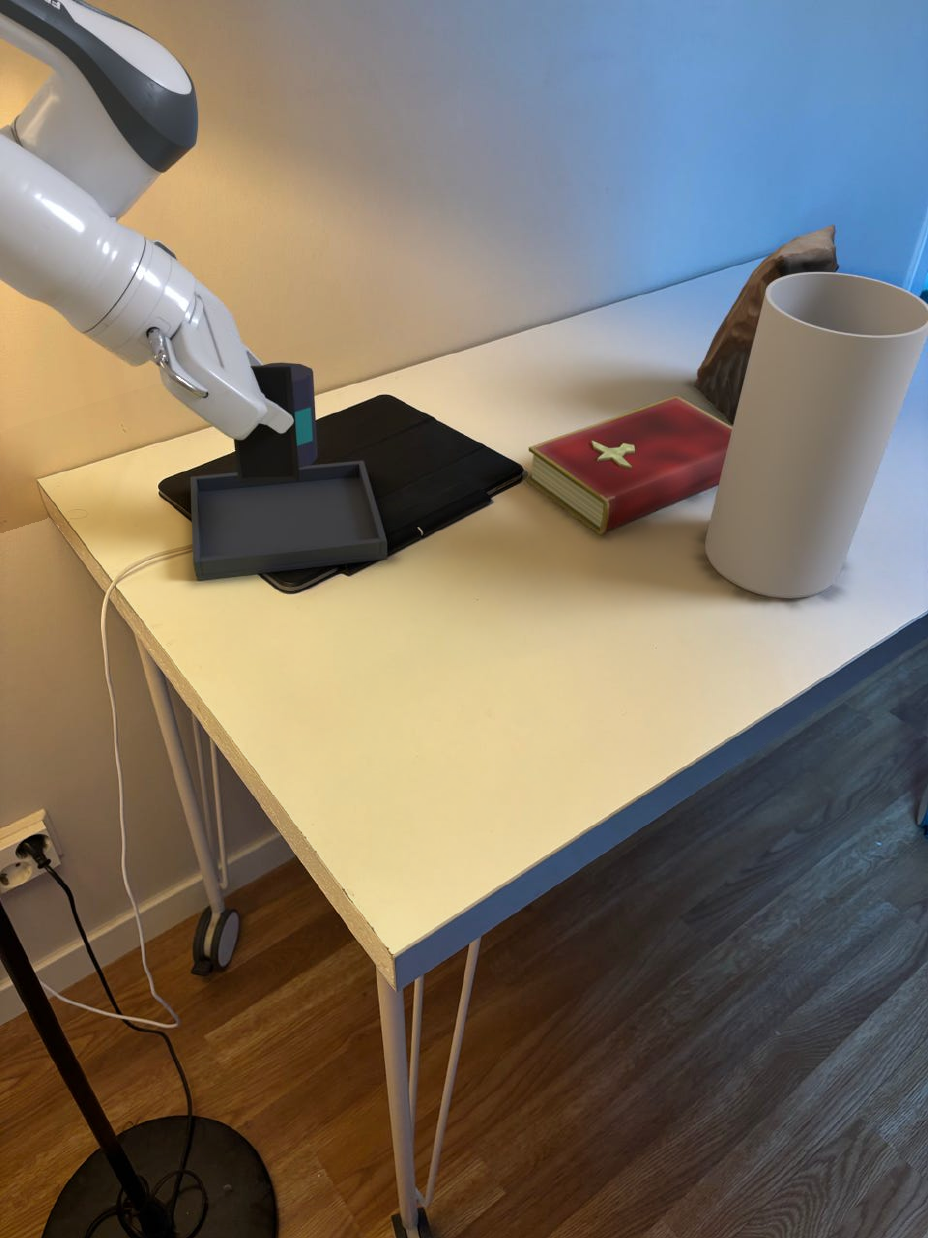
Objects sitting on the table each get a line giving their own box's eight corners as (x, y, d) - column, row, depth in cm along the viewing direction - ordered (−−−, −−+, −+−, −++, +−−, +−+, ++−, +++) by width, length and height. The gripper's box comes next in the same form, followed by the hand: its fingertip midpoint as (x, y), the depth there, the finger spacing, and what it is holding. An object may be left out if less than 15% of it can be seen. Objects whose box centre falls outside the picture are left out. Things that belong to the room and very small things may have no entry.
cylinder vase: (867, 585, 87) (970, 325, 71) (752, 615, 84) (833, 347, 67) (785, 512, 96) (860, 264, 80) (678, 535, 92) (734, 281, 76)
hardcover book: (750, 474, 101) (759, 439, 99) (602, 537, 92) (608, 500, 89) (670, 426, 109) (677, 392, 106) (525, 480, 99) (528, 444, 96)
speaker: (298, 492, 82) (287, 376, 77) (237, 483, 84) (221, 369, 78) (329, 455, 89) (321, 345, 83) (271, 448, 90) (259, 339, 84)
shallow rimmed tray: (196, 581, 85) (193, 562, 84) (193, 494, 95) (190, 476, 94) (387, 559, 88) (387, 540, 87) (364, 477, 99) (363, 460, 97)
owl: (792, 383, 118) (839, 216, 105) (825, 434, 108) (881, 258, 95) (691, 381, 117) (726, 213, 104) (716, 433, 108) (757, 256, 95)
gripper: (183, 332, 66) (329, 436, 75) (155, 231, 81) (281, 329, 90) (129, 398, 68) (278, 492, 77) (111, 288, 83) (239, 378, 92)
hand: (279, 403), depth 84 cm, fingers closed on speaker, 6 cm apart
